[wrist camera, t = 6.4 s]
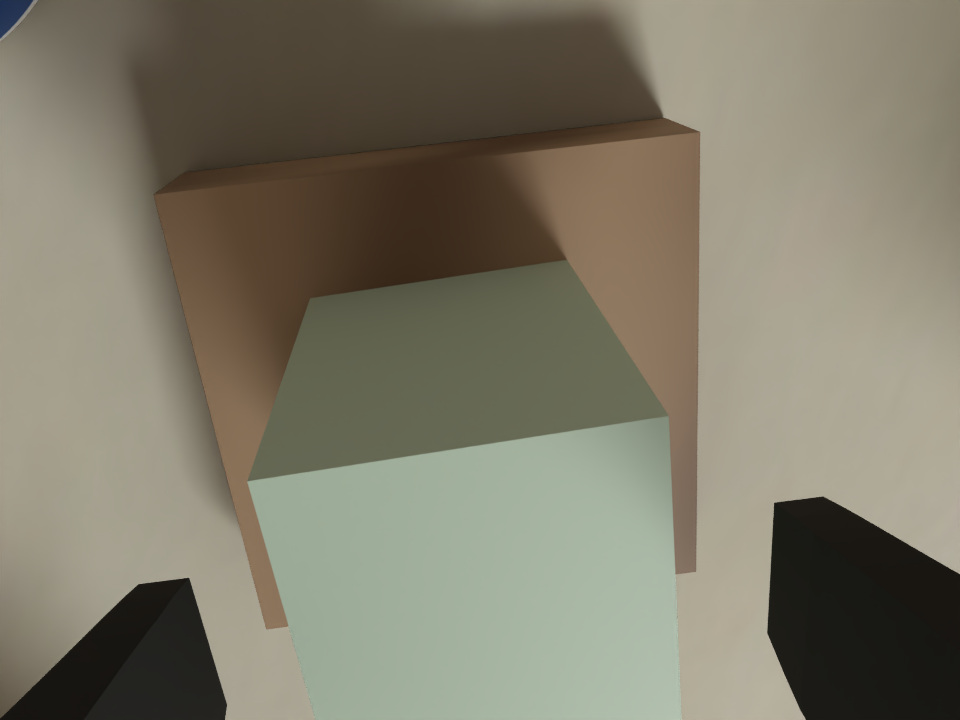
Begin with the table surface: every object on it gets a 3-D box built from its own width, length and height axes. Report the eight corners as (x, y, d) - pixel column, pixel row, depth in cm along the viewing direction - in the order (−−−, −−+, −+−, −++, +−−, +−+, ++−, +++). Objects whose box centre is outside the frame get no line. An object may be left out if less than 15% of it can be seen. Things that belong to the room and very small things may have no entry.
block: (566, 260, 14) (668, 416, 9) (586, 479, 16) (681, 724, 10) (309, 298, 14) (246, 481, 9) (359, 514, 16) (333, 782, 10)
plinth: (664, 118, 15) (699, 131, 13) (668, 517, 19) (696, 571, 17) (184, 172, 15) (153, 194, 13) (280, 568, 19) (266, 629, 17)
